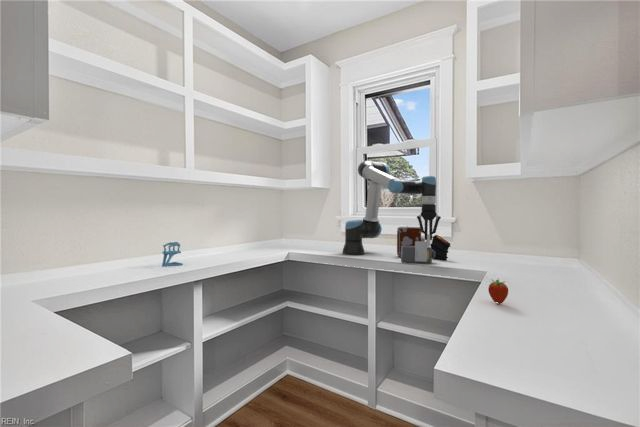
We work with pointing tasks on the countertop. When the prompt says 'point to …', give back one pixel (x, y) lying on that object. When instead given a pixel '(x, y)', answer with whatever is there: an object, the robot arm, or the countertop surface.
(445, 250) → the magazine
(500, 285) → the fruit
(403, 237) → the brown box
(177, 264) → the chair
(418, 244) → the side door
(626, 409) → the countertop surface
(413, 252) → the block
